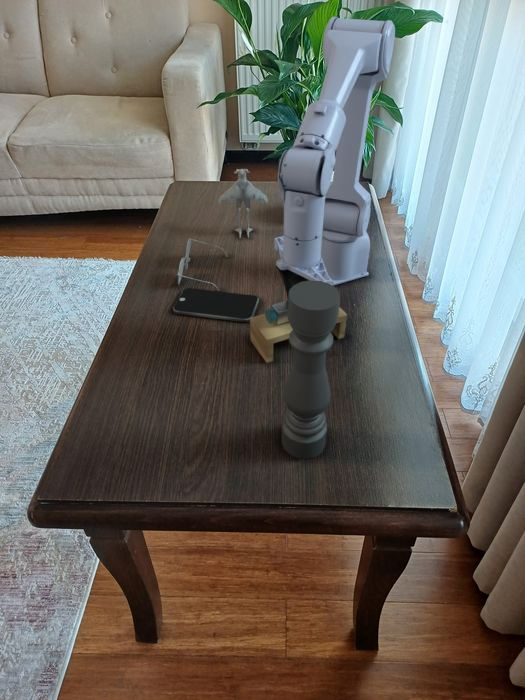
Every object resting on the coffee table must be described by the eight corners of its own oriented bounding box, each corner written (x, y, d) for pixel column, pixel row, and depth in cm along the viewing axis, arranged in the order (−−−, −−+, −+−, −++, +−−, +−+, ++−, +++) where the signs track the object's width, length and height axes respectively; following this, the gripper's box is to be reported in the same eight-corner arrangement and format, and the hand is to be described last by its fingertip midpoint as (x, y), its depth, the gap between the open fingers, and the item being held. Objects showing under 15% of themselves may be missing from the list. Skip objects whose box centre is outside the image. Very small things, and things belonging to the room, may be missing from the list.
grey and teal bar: (321, 301, 89) (322, 289, 87) (328, 309, 87) (330, 297, 86) (264, 318, 85) (264, 306, 84) (271, 326, 84) (271, 314, 82)
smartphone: (184, 287, 101) (259, 295, 99) (184, 290, 101) (260, 298, 99) (170, 310, 95) (250, 320, 93) (171, 313, 96) (250, 323, 93)
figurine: (268, 229, 120) (268, 164, 110) (269, 237, 117) (269, 172, 107) (219, 230, 120) (215, 166, 110) (219, 239, 117) (214, 173, 107)
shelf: (325, 317, 95) (327, 294, 92) (344, 337, 90) (347, 314, 87) (250, 340, 90) (249, 317, 87) (266, 363, 86) (266, 339, 82)
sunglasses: (189, 254, 112) (190, 233, 109) (227, 261, 112) (230, 240, 109) (176, 291, 101) (177, 269, 98) (218, 298, 102) (221, 277, 98)
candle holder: (279, 425, 76) (282, 280, 59) (321, 422, 76) (336, 277, 59) (284, 460, 71) (289, 313, 54) (329, 457, 71) (348, 310, 55)
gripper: (257, 216, 80) (258, 289, 89) (303, 261, 70) (299, 338, 79) (297, 207, 83) (294, 279, 92) (347, 249, 73) (338, 325, 82)
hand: (299, 306), depth 86 cm, fingers closed on grey and teal bar, 2 cm apart
